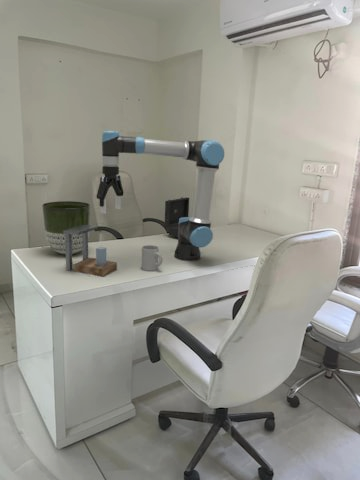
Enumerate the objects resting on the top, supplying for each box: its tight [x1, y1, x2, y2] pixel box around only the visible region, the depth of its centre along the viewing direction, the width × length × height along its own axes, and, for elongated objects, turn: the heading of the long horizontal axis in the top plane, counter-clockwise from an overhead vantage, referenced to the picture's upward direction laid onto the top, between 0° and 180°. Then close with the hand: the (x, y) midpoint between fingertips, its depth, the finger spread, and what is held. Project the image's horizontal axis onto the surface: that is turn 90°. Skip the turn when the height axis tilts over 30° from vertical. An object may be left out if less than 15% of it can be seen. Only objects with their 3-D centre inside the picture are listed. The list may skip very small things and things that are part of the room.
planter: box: [41, 200, 91, 255], centre depth 200 cm, size 24×24×27 cm
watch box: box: [164, 196, 190, 238], centre depth 256 cm, size 26×28×24 cm
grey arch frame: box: [63, 224, 99, 272], centre depth 177 cm, size 8×16×20 cm, turn 159°
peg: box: [95, 246, 107, 266], centre depth 175 cm, size 4×4×12 cm
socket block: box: [73, 257, 118, 278], centre depth 177 cm, size 16×12×4 cm
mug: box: [140, 244, 163, 272], centre depth 182 cm, size 12×8×11 cm
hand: (110, 211), depth 175 cm, fingers open, 13 cm apart
